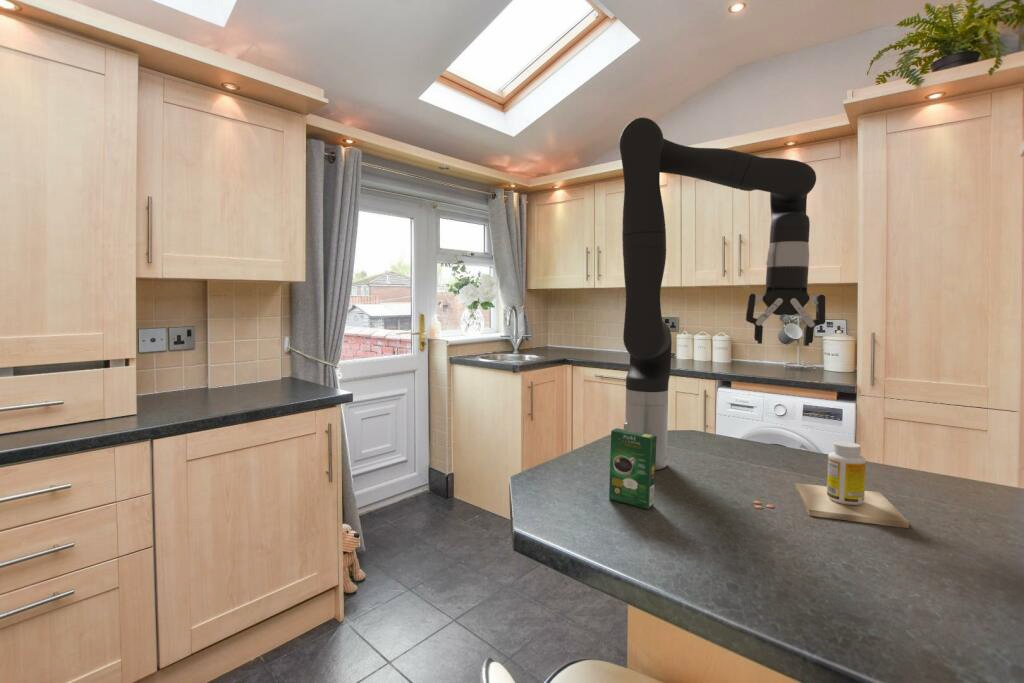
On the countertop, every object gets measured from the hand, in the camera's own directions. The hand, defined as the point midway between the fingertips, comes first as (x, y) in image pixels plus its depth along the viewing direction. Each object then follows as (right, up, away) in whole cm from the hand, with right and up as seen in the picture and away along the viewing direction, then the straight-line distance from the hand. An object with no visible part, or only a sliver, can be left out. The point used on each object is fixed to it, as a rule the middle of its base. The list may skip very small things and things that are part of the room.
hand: (782, 344), depth 103 cm
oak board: (+4, -29, -14) cm, 32 cm away
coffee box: (-34, -29, -13) cm, 47 cm away
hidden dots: (-11, -29, -14) cm, 34 cm away
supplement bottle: (+3, -28, -14) cm, 32 cm away
